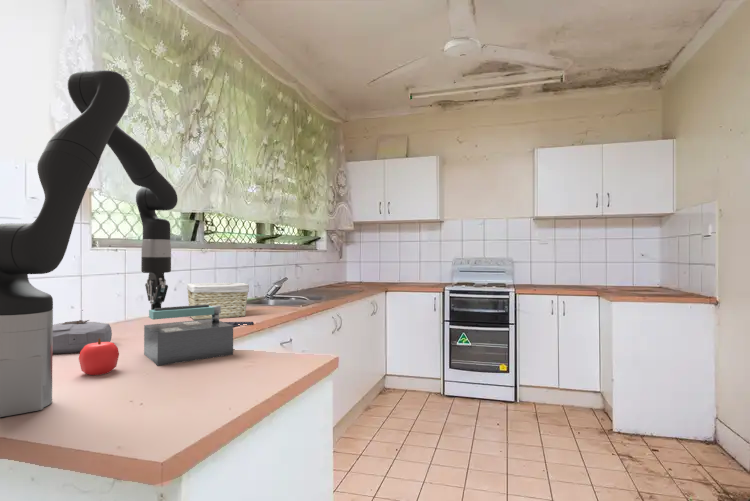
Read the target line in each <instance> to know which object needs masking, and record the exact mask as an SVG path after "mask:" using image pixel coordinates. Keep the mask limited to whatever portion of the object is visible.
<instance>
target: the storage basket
mask: <svg viewBox="0 0 750 501" xmlns="http://www.w3.org/2000/svg"><path fill="white" fill-rule="evenodd" d="M186 290H187V297H188V298H187V300H188V301H187V302H188V306H193V305H207V304H208V305H209V306H221V313H219V319H228V318H229V319H230V318H240V317H239V316H241V317H246V314H247V312H246V311H247V304H248V303H247V302H248V294H249V292H250V285H249V283H243V282H198V283H197V282H196V283H194V282H193V283H190V282H188V283H187V284H186ZM189 318H192V319H193V320H205V319H212V315H201V316H189Z"/></svg>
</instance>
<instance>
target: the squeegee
mask: <svg viewBox="0 0 750 501" xmlns="http://www.w3.org/2000/svg"><path fill="white" fill-rule="evenodd" d="M223 322H224V323H227V324H230V325H233V328H235V327H241V326H240V325H243V324H247V325H246V326H254V321H223ZM238 324H240V325H238Z"/></svg>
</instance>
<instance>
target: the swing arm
mask: <svg viewBox="0 0 750 501" xmlns="http://www.w3.org/2000/svg"><path fill="white" fill-rule="evenodd" d="M218 313H221V306H209V305H208V304H207V305H193V306H189V305H181V306H169V307H167V306H166V307H161V308H154V310H151V309H149V310H148V318H150V319H151V320H162V319H163V320H165V319H173V318H187V317H189V318H190V316H201V315H213V314H218Z"/></svg>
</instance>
